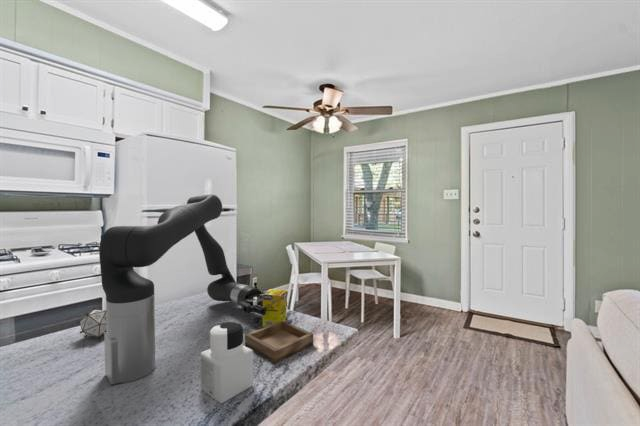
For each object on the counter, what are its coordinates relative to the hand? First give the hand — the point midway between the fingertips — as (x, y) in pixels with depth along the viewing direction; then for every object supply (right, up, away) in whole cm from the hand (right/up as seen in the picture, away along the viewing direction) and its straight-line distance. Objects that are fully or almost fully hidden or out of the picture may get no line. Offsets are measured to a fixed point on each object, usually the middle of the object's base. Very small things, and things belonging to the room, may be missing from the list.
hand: (275, 308), depth 91 cm
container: (-6, -7, -30) cm, 31 cm away
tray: (+3, -6, -11) cm, 13 cm away
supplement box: (0, -6, +1) cm, 6 cm away
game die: (-51, -6, -6) cm, 52 cm away
